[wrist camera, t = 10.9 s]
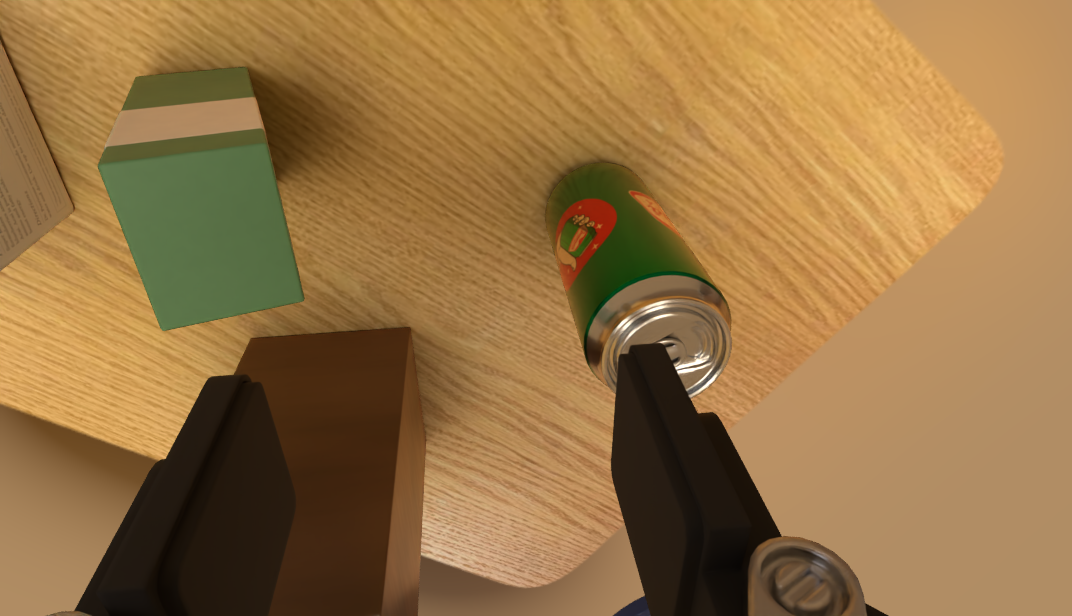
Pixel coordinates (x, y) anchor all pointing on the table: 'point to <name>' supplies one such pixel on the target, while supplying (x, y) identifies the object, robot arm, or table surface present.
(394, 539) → the pedestal
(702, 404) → the table surface
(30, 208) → the rectangular carton
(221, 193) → the block
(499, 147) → the table surface
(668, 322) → the soda can
